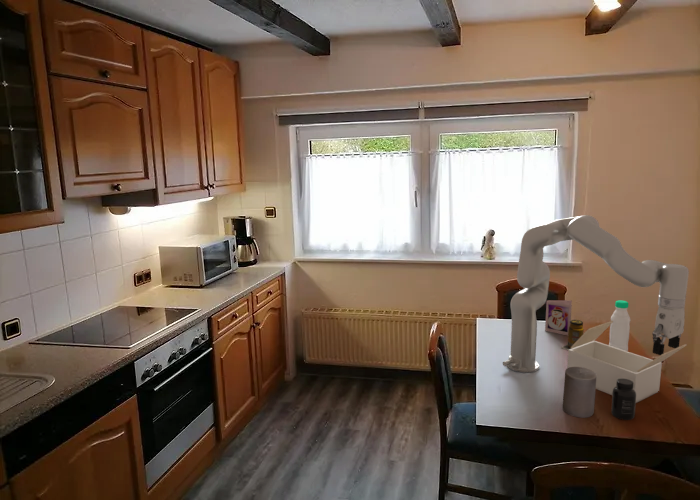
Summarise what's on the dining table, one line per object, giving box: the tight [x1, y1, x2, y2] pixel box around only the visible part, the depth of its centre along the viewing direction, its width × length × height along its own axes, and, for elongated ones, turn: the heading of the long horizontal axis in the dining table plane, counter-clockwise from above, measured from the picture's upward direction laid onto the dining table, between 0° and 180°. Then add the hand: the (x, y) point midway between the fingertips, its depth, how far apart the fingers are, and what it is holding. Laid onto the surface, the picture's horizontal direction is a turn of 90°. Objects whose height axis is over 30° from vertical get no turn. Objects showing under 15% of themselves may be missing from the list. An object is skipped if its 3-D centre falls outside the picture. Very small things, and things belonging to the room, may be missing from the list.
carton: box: [566, 340, 663, 404], centre depth 191 cm, size 16×26×11 cm, turn 32°
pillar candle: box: [562, 367, 597, 419], centre depth 172 cm, size 10×10×15 cm
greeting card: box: [544, 299, 573, 336], centre depth 244 cm, size 11×7×15 cm, turn 50°
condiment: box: [561, 319, 585, 351], centre depth 225 cm, size 7×8×12 cm
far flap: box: [571, 320, 613, 349], centre depth 196 cm, size 15×12×1 cm
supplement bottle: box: [610, 378, 637, 421], centre depth 169 cm, size 7×7×12 cm
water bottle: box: [608, 299, 631, 352], centre depth 210 cm, size 7×7×25 cm
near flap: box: [637, 343, 688, 372], centre depth 175 cm, size 15×12×1 cm
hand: (665, 350), depth 173 cm, fingers open, 9 cm apart
